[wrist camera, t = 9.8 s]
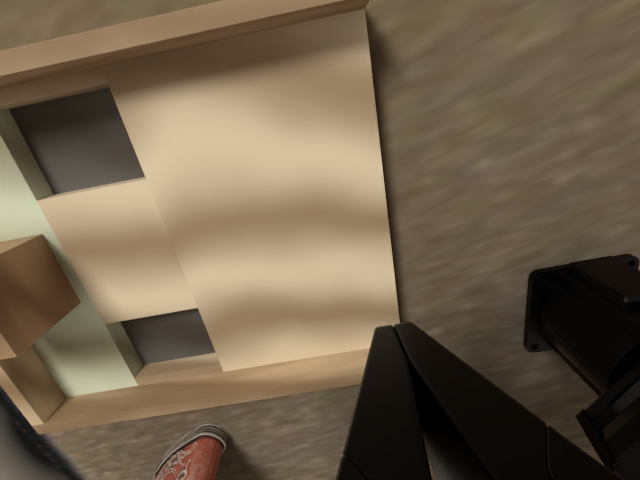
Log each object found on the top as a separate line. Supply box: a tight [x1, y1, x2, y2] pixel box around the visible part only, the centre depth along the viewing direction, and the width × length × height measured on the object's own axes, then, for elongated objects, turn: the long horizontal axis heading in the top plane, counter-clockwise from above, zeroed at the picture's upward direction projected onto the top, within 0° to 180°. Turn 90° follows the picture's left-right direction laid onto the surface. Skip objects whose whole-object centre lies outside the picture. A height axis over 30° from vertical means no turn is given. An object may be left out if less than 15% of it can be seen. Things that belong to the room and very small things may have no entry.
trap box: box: [0, 0, 400, 434], centre depth 18 cm, size 20×24×4 cm
